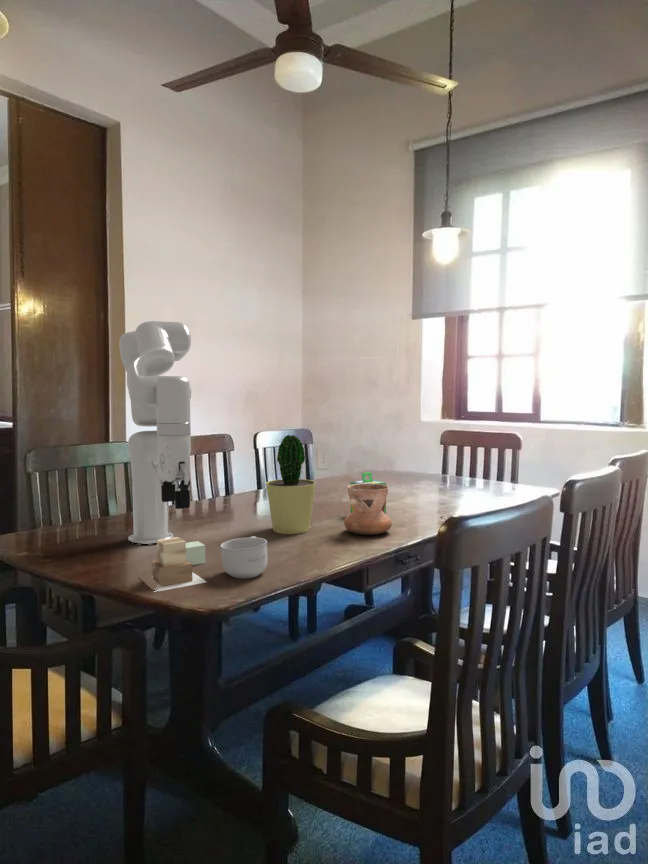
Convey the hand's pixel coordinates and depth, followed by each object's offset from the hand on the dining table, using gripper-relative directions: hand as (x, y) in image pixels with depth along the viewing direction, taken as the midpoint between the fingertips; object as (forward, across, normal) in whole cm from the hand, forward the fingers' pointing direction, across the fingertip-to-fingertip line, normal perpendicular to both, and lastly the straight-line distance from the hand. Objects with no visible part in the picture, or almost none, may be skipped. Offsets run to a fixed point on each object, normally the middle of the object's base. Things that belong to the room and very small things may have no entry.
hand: (175, 504), depth 141 cm
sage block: (+17, -8, +7) cm, 20 cm away
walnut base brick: (+17, +3, -2) cm, 17 cm away
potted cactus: (+17, -27, +46) cm, 56 cm away
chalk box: (+17, -32, +78) cm, 86 cm away
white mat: (+17, +3, -2) cm, 17 cm away
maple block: (+13, +2, -2) cm, 13 cm away
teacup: (+17, +6, +15) cm, 24 cm away
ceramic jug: (+17, -11, +64) cm, 67 cm away
